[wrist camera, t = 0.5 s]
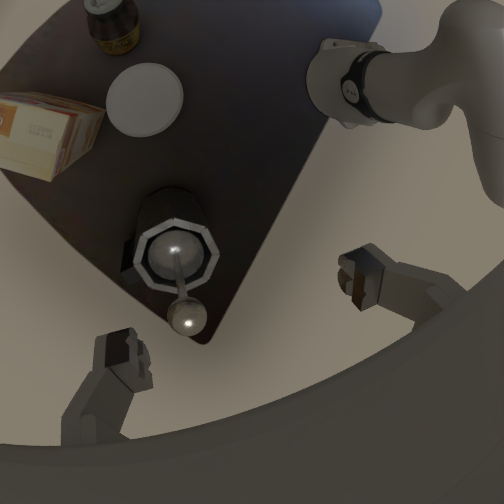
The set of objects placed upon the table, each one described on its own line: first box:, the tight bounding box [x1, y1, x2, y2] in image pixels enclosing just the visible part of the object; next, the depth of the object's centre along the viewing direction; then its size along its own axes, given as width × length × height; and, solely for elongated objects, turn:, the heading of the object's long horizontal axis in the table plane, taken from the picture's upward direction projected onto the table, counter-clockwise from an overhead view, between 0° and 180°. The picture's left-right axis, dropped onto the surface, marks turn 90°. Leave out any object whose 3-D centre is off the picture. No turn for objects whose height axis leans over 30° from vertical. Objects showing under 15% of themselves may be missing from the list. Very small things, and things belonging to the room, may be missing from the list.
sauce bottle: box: [84, 0, 140, 55], centre depth 21 cm, size 6×6×20 cm
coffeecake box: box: [0, 92, 106, 182], centre depth 24 cm, size 15×7×20 cm, turn 62°
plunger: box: [148, 228, 207, 336], centre depth 31 cm, size 8×8×14 cm
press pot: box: [120, 187, 220, 294], centre depth 41 cm, size 14×11×14 cm
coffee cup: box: [106, 63, 183, 137], centre depth 31 cm, size 9×9×12 cm
